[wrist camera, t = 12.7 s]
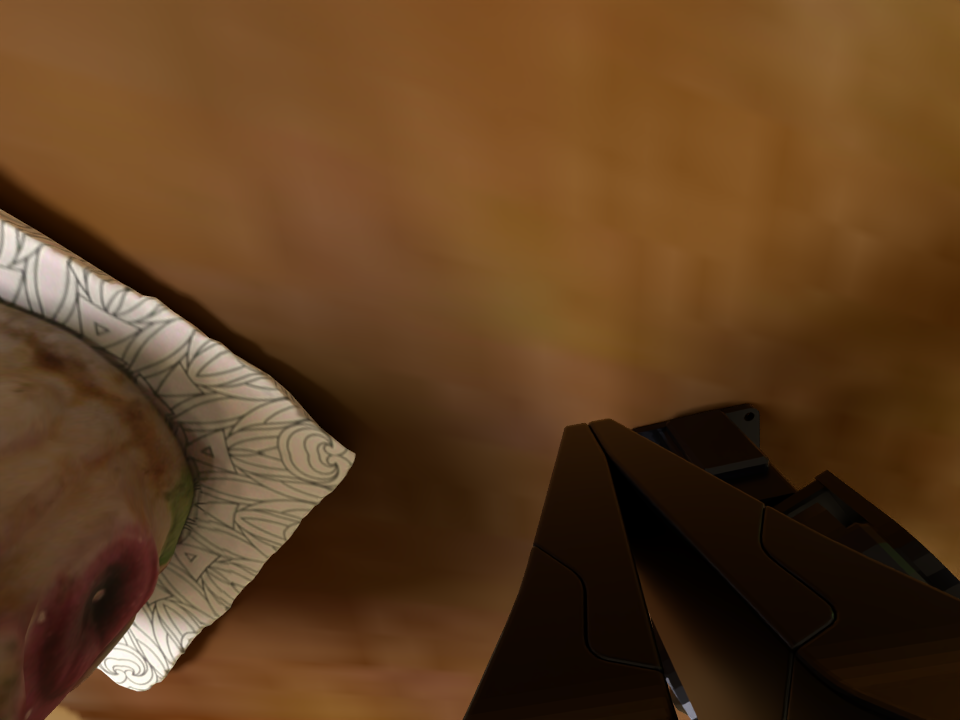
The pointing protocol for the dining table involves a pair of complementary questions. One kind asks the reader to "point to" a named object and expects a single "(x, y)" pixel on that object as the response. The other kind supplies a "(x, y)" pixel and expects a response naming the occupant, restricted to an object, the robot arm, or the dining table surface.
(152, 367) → the cookie jar
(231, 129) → the dining table surface
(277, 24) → the dining table surface
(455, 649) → the dining table surface
